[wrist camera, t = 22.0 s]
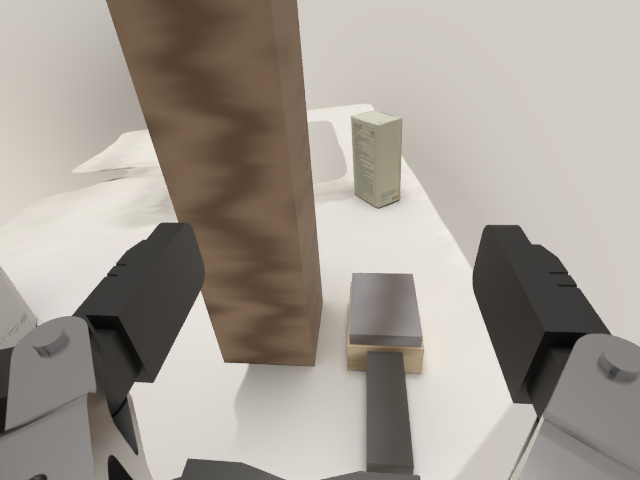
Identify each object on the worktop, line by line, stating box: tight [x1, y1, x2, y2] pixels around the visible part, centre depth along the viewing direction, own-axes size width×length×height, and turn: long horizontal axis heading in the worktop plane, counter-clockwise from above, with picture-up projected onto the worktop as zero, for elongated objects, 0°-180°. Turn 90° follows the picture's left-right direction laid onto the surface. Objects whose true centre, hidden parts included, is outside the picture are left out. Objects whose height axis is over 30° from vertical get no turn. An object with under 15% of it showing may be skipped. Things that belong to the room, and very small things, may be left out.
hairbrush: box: [347, 273, 424, 475], centre depth 30 cm, size 6×16×4 cm, turn 174°
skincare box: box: [351, 110, 402, 208], centre depth 53 cm, size 6×4×12 cm
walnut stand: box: [106, 0, 323, 366], centre depth 27 cm, size 8×8×31 cm
